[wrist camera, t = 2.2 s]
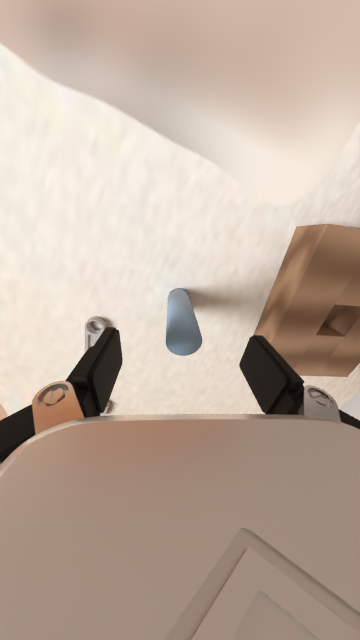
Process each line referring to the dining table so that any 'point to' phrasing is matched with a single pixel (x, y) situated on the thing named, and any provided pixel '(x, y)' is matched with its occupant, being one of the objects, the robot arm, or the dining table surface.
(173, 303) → the peg
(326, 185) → the dining table surface
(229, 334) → the dining table surface
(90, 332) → the adjustable wrench
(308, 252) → the hole block
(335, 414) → the robot arm
